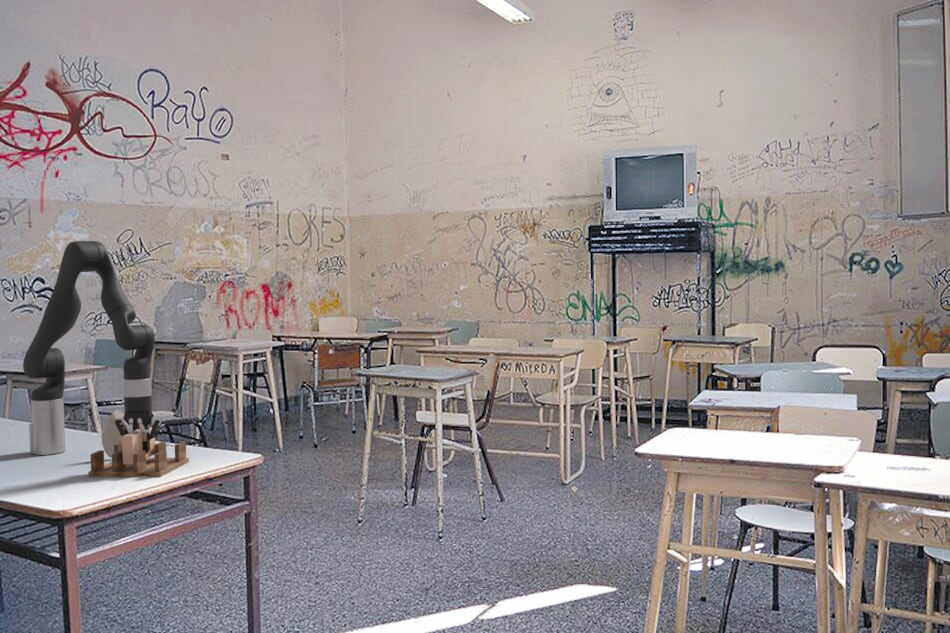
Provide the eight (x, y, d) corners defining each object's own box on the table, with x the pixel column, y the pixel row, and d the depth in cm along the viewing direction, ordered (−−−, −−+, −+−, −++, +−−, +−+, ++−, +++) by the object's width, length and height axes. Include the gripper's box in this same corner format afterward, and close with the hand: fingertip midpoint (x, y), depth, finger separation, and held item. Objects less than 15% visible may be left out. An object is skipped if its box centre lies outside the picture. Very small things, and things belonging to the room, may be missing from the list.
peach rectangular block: (122, 464, 243) (121, 436, 243) (146, 453, 257) (145, 427, 256) (133, 464, 243) (132, 436, 242) (155, 453, 257) (154, 427, 256)
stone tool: (103, 461, 261) (101, 412, 261) (101, 459, 264) (99, 410, 263) (135, 457, 266) (133, 409, 266) (132, 455, 269) (131, 407, 268)
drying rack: (88, 476, 242) (87, 454, 241) (121, 461, 260) (121, 441, 260) (160, 476, 240) (159, 454, 239) (189, 461, 259) (188, 441, 258)
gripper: (107, 396, 246) (110, 456, 247) (155, 395, 245) (157, 456, 245) (120, 392, 253) (122, 450, 254) (166, 392, 252) (168, 450, 253)
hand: (139, 453), depth 250 cm, fingers closed on peach rectangular block, 3 cm apart
